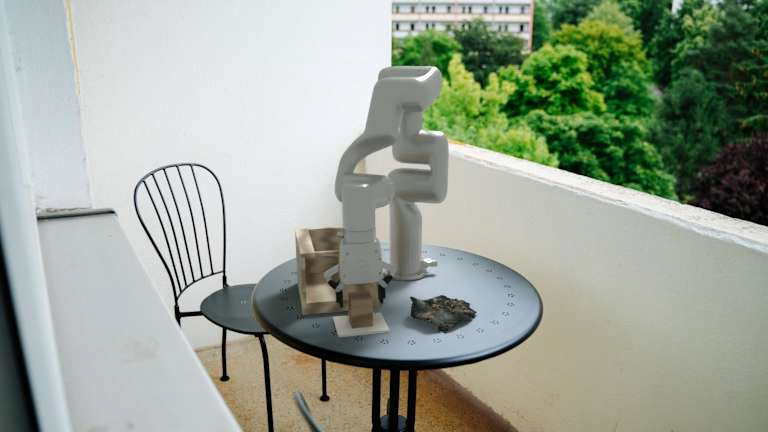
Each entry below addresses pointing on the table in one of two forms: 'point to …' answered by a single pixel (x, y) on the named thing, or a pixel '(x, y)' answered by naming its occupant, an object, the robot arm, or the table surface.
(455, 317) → the decorative rock
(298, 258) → the slot box
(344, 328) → the tile pad
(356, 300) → the walnut block
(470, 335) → the table surface
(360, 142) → the robot arm
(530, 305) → the table surface
